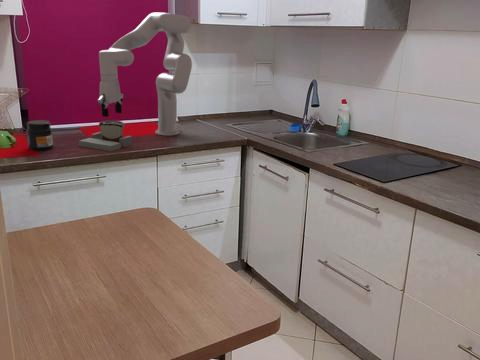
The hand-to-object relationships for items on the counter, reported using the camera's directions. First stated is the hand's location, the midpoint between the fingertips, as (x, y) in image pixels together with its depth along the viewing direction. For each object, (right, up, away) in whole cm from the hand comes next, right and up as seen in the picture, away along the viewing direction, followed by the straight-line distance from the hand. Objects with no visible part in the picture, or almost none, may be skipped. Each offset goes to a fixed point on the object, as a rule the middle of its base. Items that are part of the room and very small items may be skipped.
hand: (112, 114), depth 225 cm
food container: (0, -13, +5) cm, 14 cm away
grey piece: (-3, -15, -1) cm, 15 cm away
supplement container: (-29, -17, -10) cm, 35 cm away
